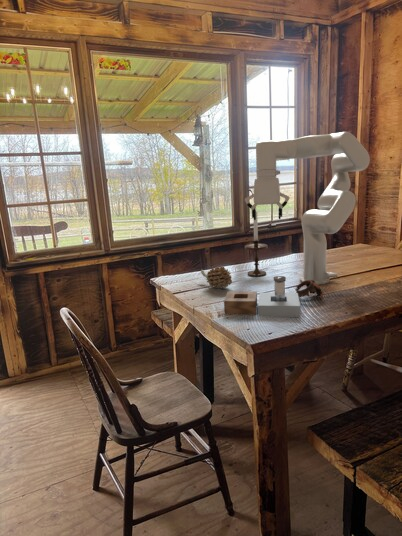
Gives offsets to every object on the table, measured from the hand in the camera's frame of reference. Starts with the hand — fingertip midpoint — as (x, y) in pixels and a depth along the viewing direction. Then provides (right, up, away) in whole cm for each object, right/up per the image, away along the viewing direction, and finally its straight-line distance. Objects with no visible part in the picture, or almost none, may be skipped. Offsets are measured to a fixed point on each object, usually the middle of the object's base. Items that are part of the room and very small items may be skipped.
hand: (267, 219), depth 145 cm
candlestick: (+1, -23, +35) cm, 42 cm away
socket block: (+2, -34, -12) cm, 37 cm away
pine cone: (-20, -28, +20) cm, 40 cm away
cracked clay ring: (+16, -31, -2) cm, 35 cm away
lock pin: (+2, -34, -13) cm, 37 cm away
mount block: (-11, -34, -10) cm, 38 cm away
